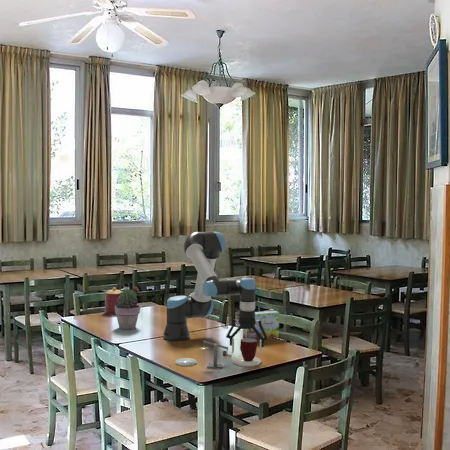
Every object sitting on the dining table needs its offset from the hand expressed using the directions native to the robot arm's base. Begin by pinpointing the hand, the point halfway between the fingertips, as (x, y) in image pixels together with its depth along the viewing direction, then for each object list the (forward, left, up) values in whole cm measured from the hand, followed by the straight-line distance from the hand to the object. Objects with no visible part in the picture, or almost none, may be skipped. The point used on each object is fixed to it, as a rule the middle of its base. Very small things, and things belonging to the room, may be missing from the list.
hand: (246, 352), depth 281 cm
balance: (-14, -10, -5) cm, 18 cm away
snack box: (+4, +51, -5) cm, 51 cm away
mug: (0, 0, -4) cm, 4 cm away
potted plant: (-79, +61, -5) cm, 100 cm away
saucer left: (-29, -6, -5) cm, 30 cm away
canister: (-101, +105, -5) cm, 146 cm away
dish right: (0, 0, -5) cm, 5 cm away
